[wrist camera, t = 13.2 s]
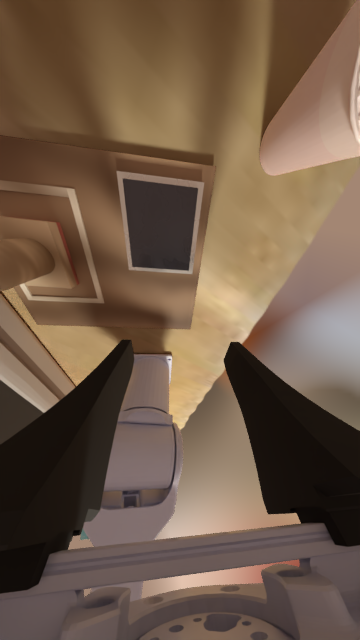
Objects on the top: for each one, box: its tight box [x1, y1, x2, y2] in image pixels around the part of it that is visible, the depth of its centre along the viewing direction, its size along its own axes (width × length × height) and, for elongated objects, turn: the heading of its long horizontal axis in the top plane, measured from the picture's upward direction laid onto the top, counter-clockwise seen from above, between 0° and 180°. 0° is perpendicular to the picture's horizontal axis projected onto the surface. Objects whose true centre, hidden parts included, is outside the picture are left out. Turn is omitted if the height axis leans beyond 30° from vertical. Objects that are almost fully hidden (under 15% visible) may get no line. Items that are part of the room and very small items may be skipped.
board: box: [0, 135, 216, 329], centre depth 16 cm, size 18×22×1 cm
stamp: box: [0, 216, 80, 291], centre depth 12 cm, size 6×4×6 cm
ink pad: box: [117, 171, 204, 274], centre depth 13 cm, size 8×7×1 cm
